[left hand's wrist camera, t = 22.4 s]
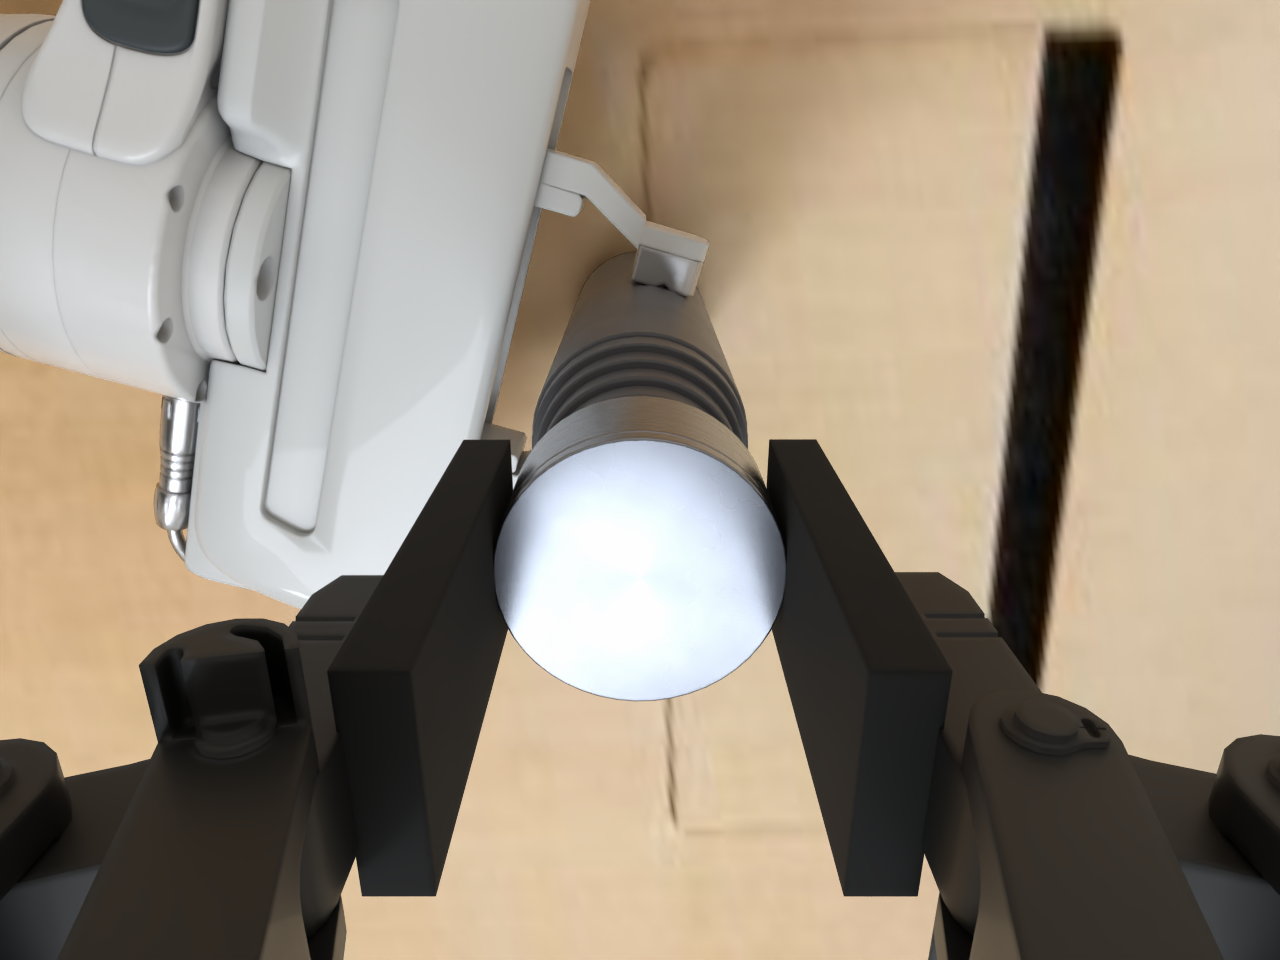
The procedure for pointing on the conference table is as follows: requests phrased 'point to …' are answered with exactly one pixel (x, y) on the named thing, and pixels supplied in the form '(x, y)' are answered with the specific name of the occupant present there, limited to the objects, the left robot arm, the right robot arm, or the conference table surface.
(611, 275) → the bottle
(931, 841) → the left robot arm
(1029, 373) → the conference table surface
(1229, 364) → the conference table surface
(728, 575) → the cap
